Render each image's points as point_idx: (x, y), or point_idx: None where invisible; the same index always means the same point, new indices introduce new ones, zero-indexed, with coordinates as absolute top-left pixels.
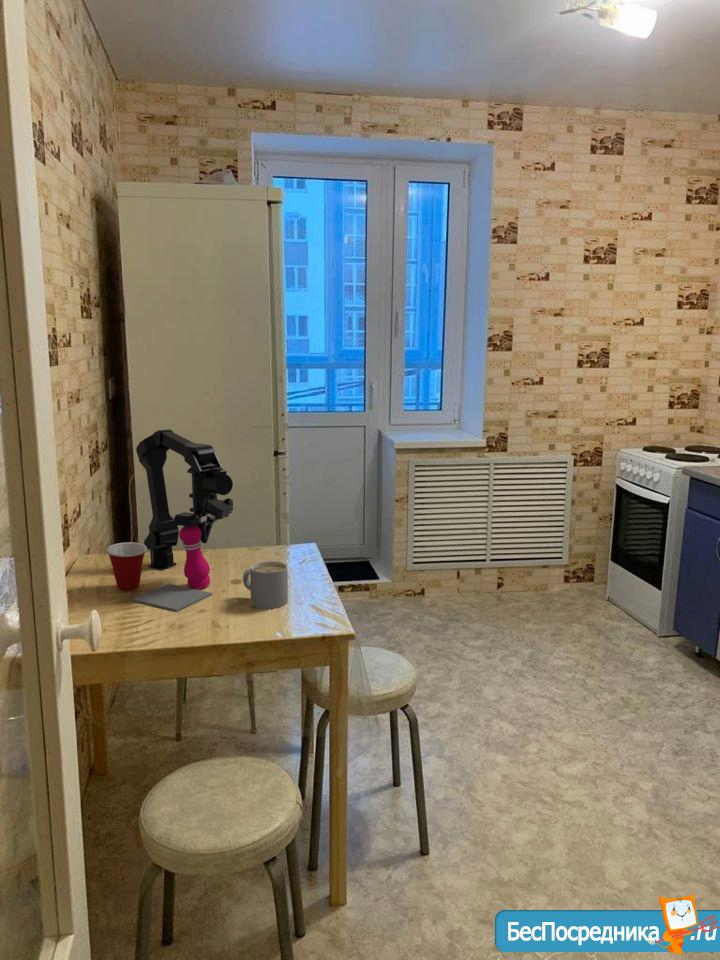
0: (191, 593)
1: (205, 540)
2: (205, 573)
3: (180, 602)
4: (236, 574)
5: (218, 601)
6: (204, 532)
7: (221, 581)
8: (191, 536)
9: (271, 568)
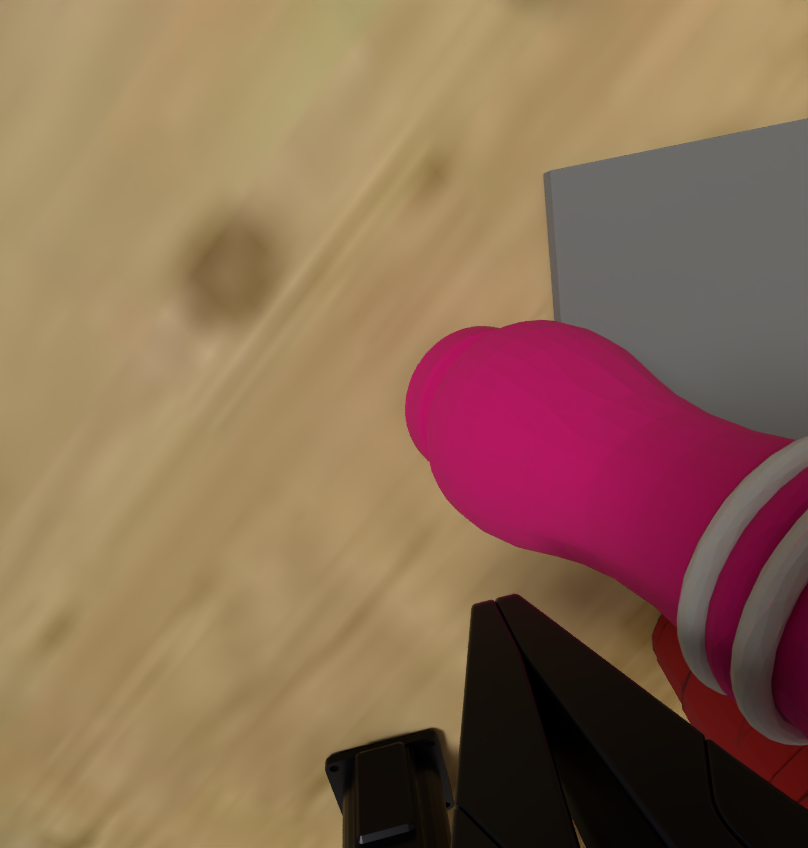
0: (633, 288)
1: (536, 621)
2: (538, 320)
3: (791, 201)
4: (134, 401)
5: (611, 12)
6: (732, 767)
7: (311, 361)
8: None
9: None
